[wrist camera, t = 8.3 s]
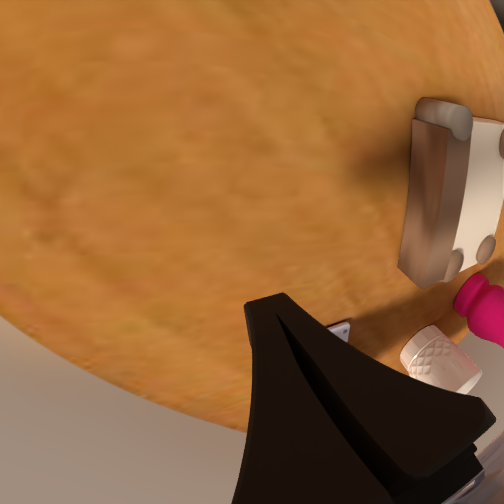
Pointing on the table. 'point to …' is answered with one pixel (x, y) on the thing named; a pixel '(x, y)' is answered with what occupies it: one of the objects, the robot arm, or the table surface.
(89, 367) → the table surface
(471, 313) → the pepper mill
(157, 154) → the table surface
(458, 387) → the white cup
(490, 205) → the stool seat
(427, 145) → the folding leg
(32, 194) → the table surface
